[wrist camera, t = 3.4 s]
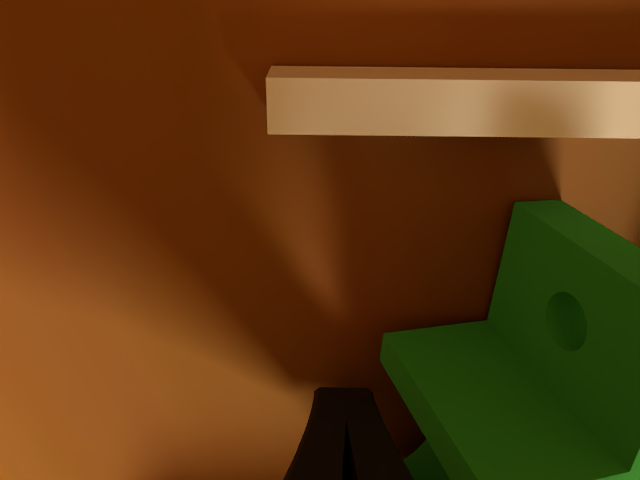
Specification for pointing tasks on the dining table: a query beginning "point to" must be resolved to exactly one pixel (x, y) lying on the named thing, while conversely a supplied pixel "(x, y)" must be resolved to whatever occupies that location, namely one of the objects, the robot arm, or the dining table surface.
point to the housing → (453, 102)
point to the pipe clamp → (533, 362)
